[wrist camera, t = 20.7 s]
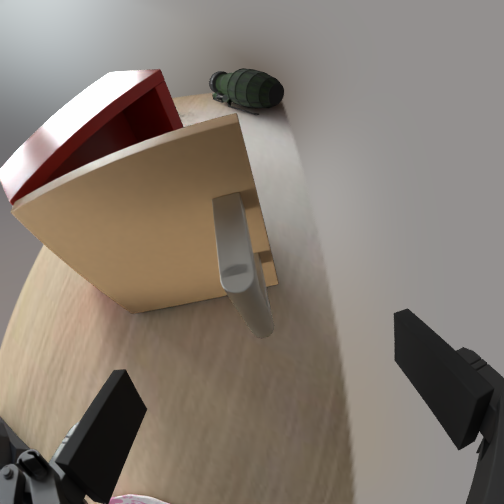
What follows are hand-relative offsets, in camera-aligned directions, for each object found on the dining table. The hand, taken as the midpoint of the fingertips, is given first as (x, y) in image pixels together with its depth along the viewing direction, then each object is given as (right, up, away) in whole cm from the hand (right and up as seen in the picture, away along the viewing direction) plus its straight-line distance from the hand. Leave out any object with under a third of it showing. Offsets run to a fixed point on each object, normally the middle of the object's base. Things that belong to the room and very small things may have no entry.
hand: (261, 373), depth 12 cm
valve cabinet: (-11, +7, +16) cm, 21 cm away
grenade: (+3, +25, +21) cm, 33 cm away
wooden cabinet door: (-4, 0, +10) cm, 11 cm away
